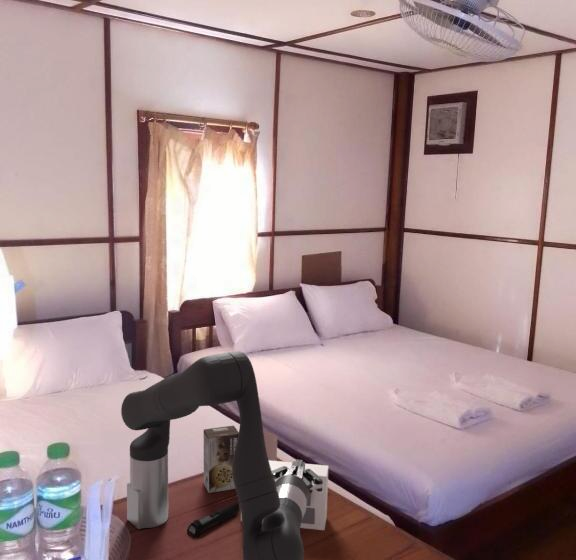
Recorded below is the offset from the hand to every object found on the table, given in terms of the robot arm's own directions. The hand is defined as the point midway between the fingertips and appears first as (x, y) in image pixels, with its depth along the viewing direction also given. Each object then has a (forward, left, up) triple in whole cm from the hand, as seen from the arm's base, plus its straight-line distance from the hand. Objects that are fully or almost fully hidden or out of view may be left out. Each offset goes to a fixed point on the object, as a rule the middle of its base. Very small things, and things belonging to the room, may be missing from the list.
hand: (299, 463), depth 138 cm
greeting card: (+14, +31, -21) cm, 40 cm away
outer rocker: (+5, +4, -14) cm, 15 cm away
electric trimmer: (-9, +21, -21) cm, 31 cm away
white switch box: (+6, +11, -21) cm, 24 cm away
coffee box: (+4, +36, -21) cm, 42 cm away
